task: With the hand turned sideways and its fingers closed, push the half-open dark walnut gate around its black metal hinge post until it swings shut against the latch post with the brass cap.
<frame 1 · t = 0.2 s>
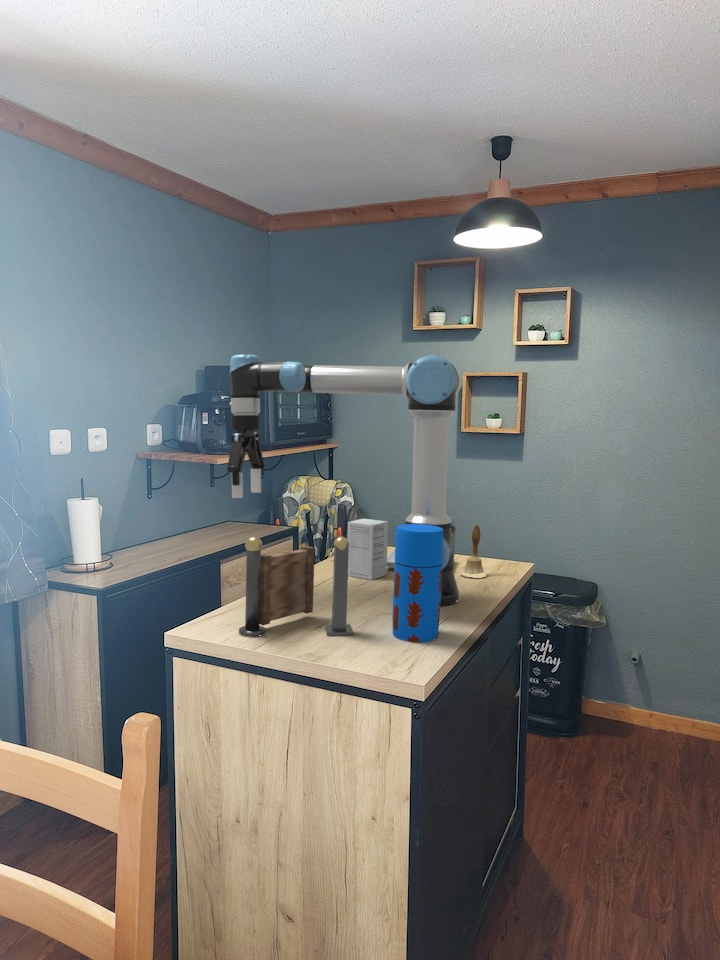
hand: (247, 495, 190), 27 cm above the countertop, tool pointing down, fingers open, 13 cm apart
hand bell: (473, 576, 225), on the countertop
salad plate: (419, 567, 235), on the countertop
thermos: (415, 635, 165), on the countertop
walnut gate: (286, 584, 169), point 10 cm above the countertop, hinge at 0.0°
latch post: (338, 631, 166), on the countertop
hinge post: (252, 632, 163), on the countertop
supplement box: (366, 575, 220), on the countertop
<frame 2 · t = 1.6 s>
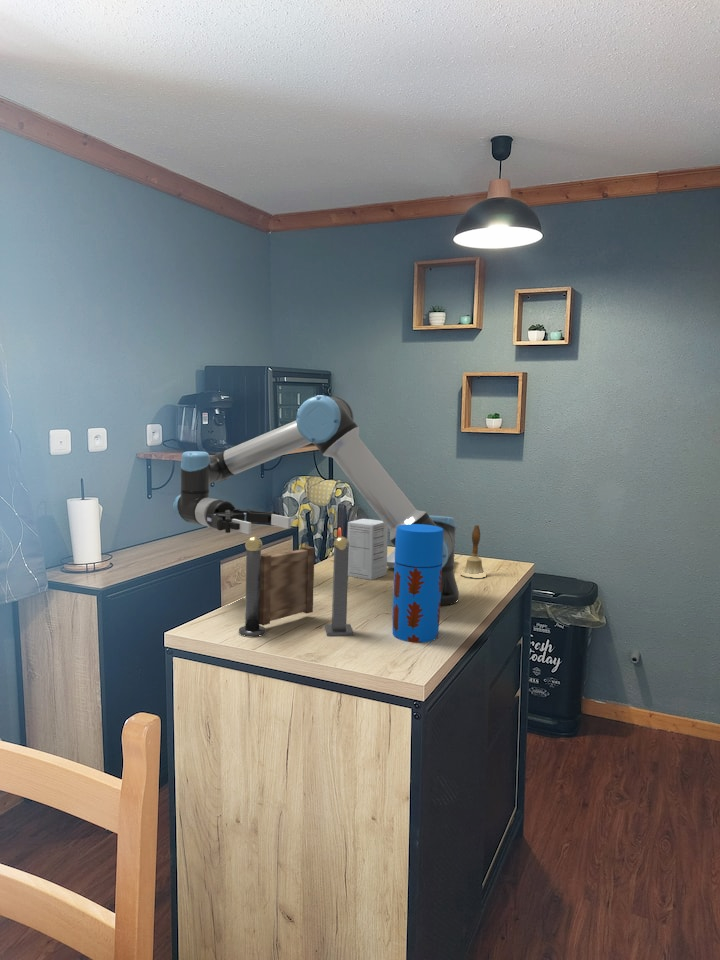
hand: (270, 525, 175), 22 cm above the countertop, tool horizontal, fingers open, 12 cm apart
nothing on the countertop moved.
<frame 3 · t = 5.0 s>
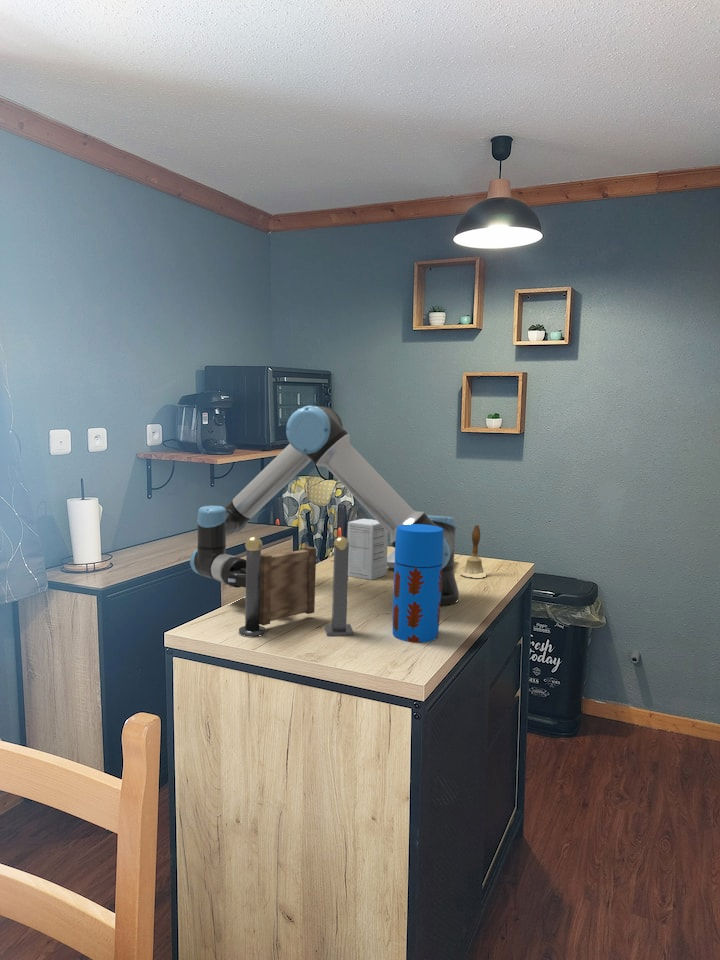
hand: (289, 589, 171), 8 cm above the countertop, tool horizontal, fingers closed
walnut gate: (287, 584, 169), point 10 cm above the countertop, hinge at -1.9°, touching gripper
everything else where it was.
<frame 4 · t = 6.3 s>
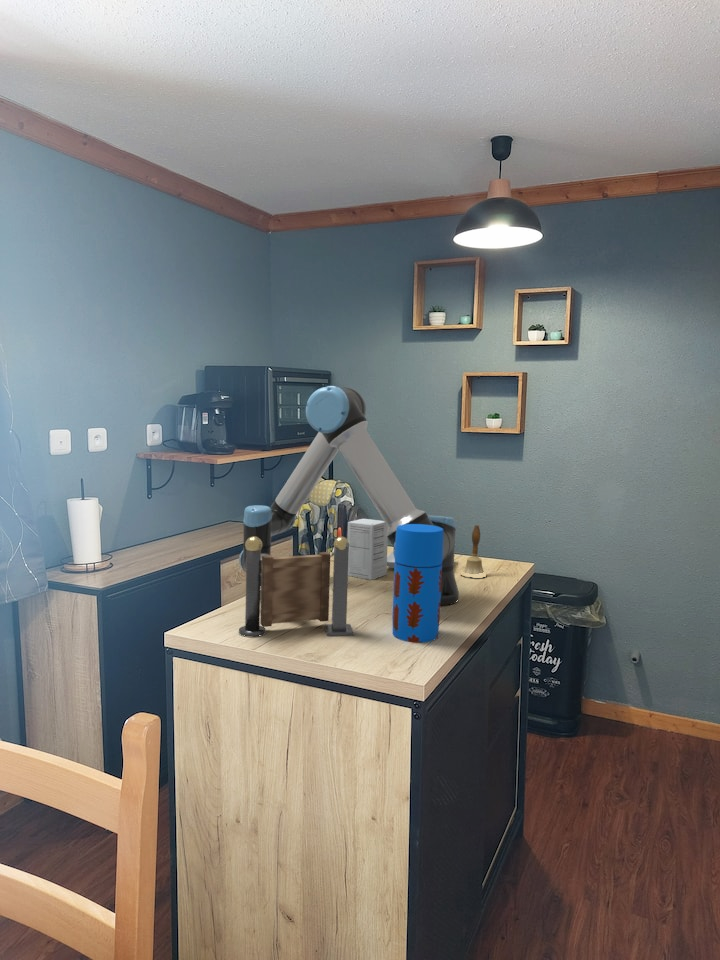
hand: (300, 594, 168), 8 cm above the countertop, tool horizontal, fingers closed
walnut gate: (295, 588, 166), point 10 cm above the countertop, hinge at -25.1°, touching gripper
everything else where it was.
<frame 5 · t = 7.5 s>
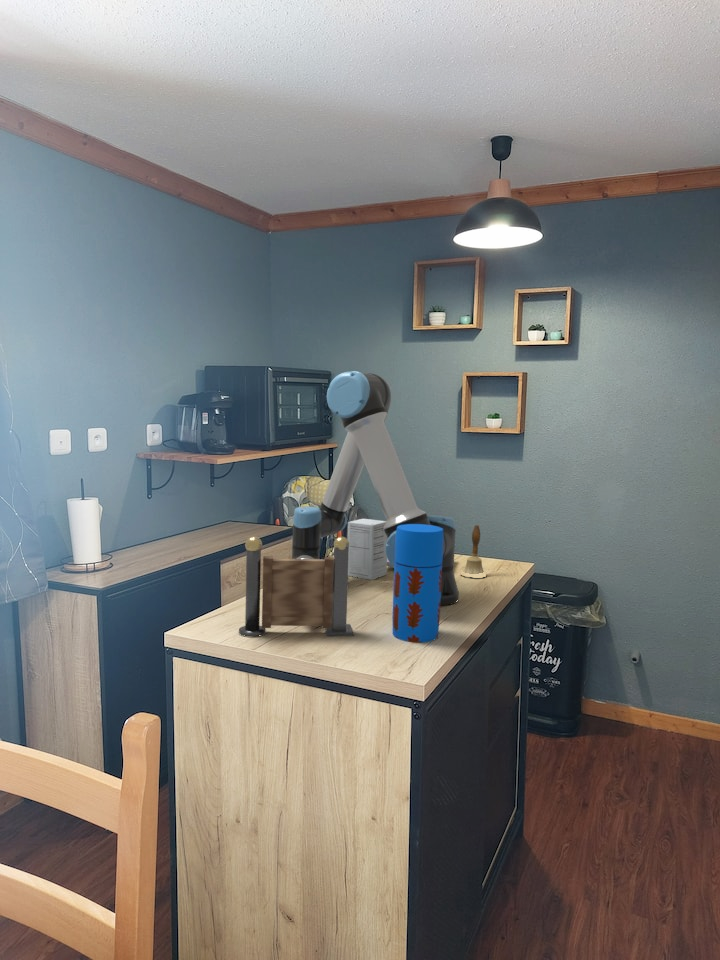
hand: (304, 598, 164), 8 cm above the countertop, tool horizontal, fingers closed
walnut gate: (297, 592, 163), point 9 cm above the countertop, hinge at -43.0°, touching gripper
everything else where it was.
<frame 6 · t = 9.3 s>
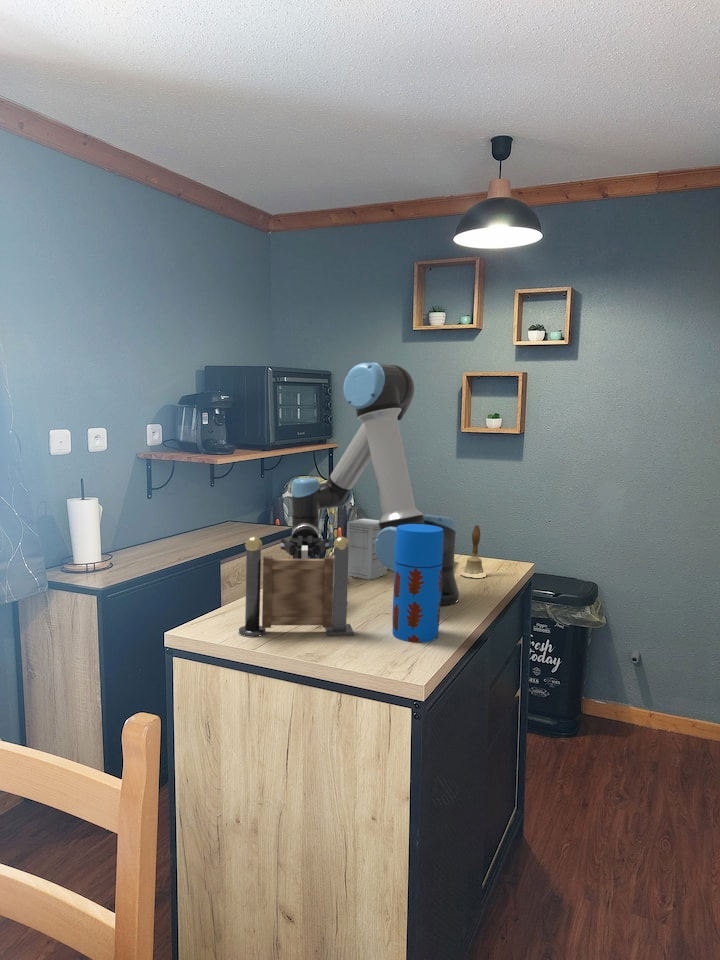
hand: (304, 556, 171), 16 cm above the countertop, tool horizontal, fingers closed
walnut gate: (297, 591, 163), point 10 cm above the countertop, hinge at -41.2°
everything else where it was.
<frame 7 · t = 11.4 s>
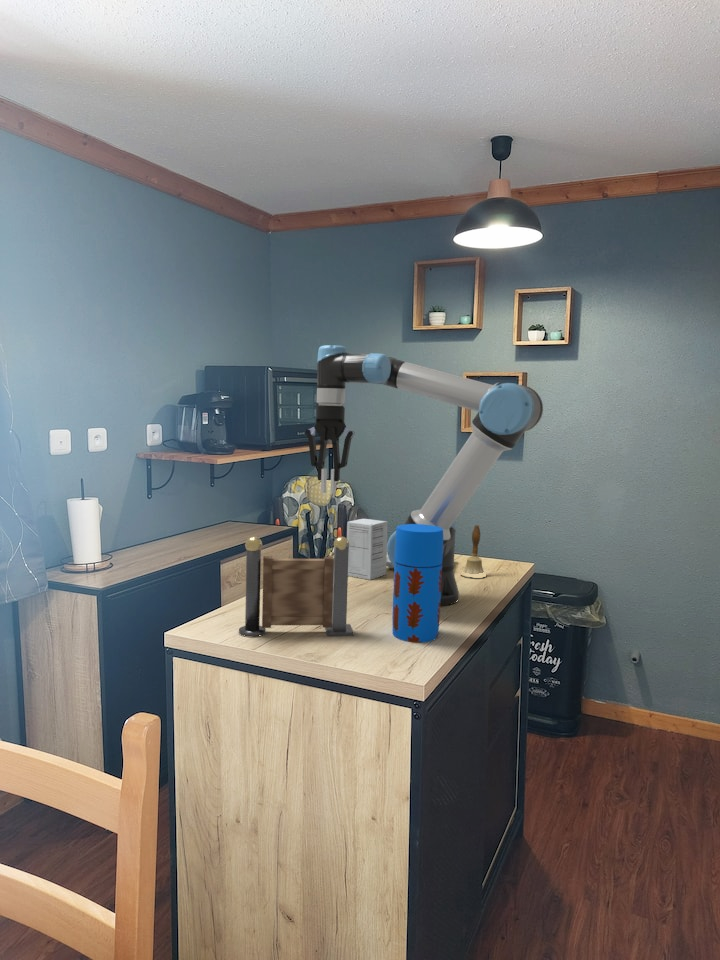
hand: (328, 492, 192), 28 cm above the countertop, tool pointing down, fingers open, 2 cm apart
nothing on the countertop moved.
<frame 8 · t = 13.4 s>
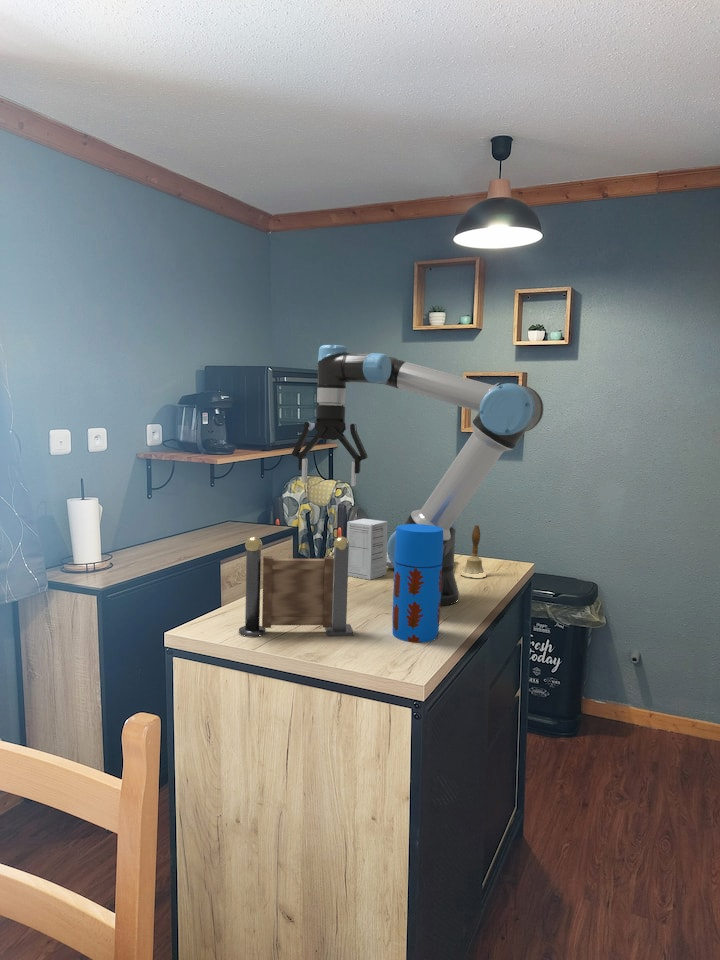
hand: (328, 484, 192), 31 cm above the countertop, tool pointing down, fingers open, 13 cm apart
nothing on the countertop moved.
at the end: walnut gate at -41° (first picture: +0°) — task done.
